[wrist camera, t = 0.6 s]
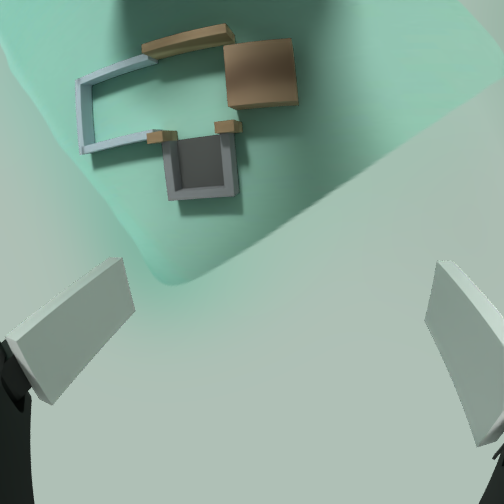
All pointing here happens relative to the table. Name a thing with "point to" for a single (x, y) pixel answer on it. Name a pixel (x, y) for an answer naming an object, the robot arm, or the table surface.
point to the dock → (85, 105)
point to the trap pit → (201, 167)
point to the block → (260, 74)
